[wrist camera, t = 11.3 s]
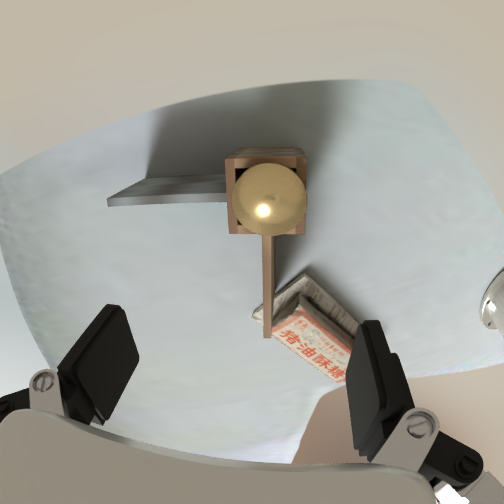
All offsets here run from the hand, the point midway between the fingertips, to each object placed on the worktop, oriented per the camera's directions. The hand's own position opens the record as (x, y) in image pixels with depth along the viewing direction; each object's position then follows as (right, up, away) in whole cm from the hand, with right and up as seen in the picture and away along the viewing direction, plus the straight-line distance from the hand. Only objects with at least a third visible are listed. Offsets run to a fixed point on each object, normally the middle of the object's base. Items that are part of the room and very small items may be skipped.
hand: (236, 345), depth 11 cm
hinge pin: (+3, +12, +21) cm, 24 cm away
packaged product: (+10, -7, +31) cm, 33 cm away
